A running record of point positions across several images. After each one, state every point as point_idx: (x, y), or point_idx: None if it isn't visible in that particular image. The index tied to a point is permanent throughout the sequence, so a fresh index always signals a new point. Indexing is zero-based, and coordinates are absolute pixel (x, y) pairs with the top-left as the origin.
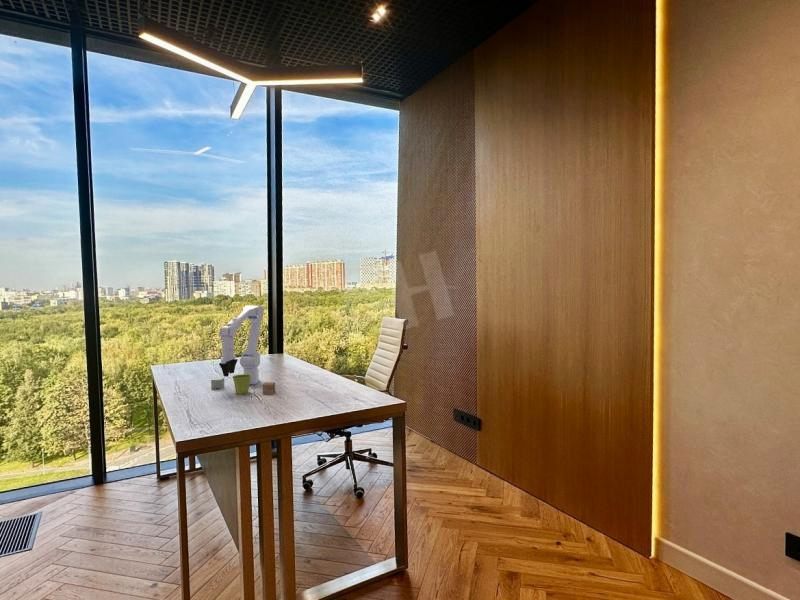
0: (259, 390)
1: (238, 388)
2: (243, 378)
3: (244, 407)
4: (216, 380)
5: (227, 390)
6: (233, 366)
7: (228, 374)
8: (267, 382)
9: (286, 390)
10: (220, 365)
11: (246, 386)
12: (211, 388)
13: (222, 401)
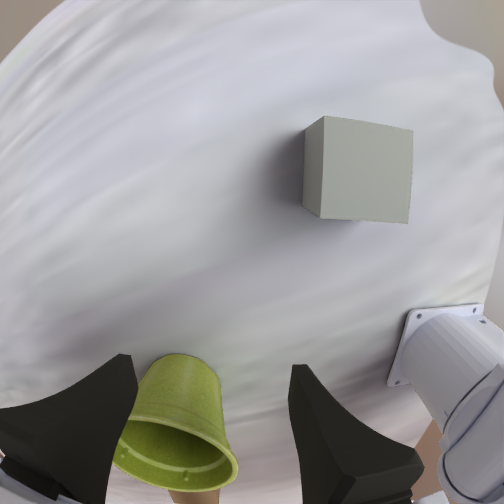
0: (240, 436)
1: None
2: (115, 464)
3: (10, 400)
4: (320, 173)
5: (248, 277)
6: (303, 460)
7: (128, 403)
8: (210, 495)
9: (237, 493)
10: (9, 418)
11: (159, 431)
12: (305, 129)
13: (23, 323)
